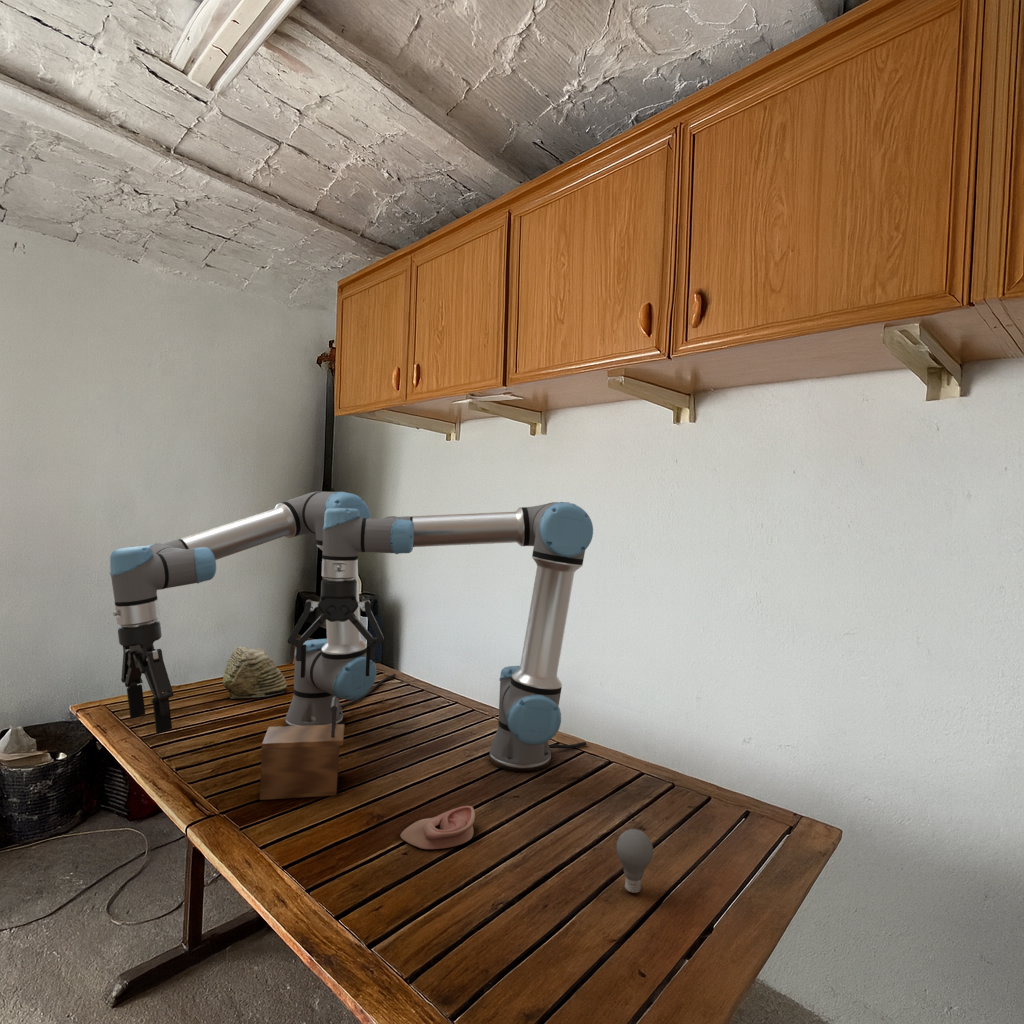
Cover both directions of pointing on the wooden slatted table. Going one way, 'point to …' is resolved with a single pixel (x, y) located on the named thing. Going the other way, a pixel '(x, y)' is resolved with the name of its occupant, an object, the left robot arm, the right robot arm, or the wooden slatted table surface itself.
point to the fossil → (252, 674)
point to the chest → (299, 772)
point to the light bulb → (634, 857)
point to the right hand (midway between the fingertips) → (335, 675)
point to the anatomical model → (442, 829)
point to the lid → (306, 734)
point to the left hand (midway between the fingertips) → (150, 723)
